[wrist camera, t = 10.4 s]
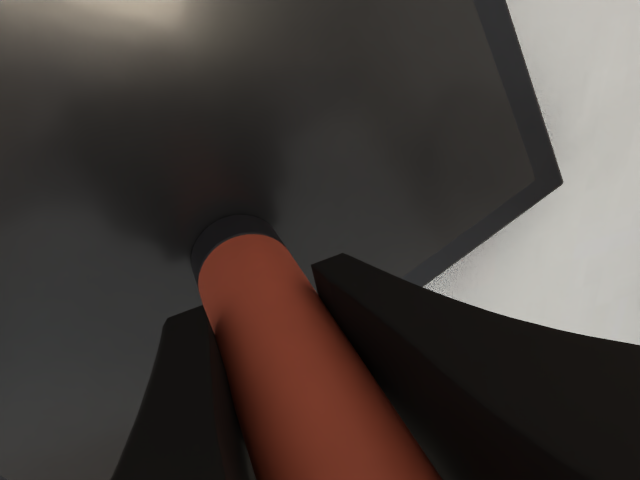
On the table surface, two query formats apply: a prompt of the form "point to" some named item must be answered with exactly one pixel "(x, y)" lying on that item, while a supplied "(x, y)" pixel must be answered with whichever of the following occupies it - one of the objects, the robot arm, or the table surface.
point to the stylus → (295, 366)
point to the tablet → (229, 174)
